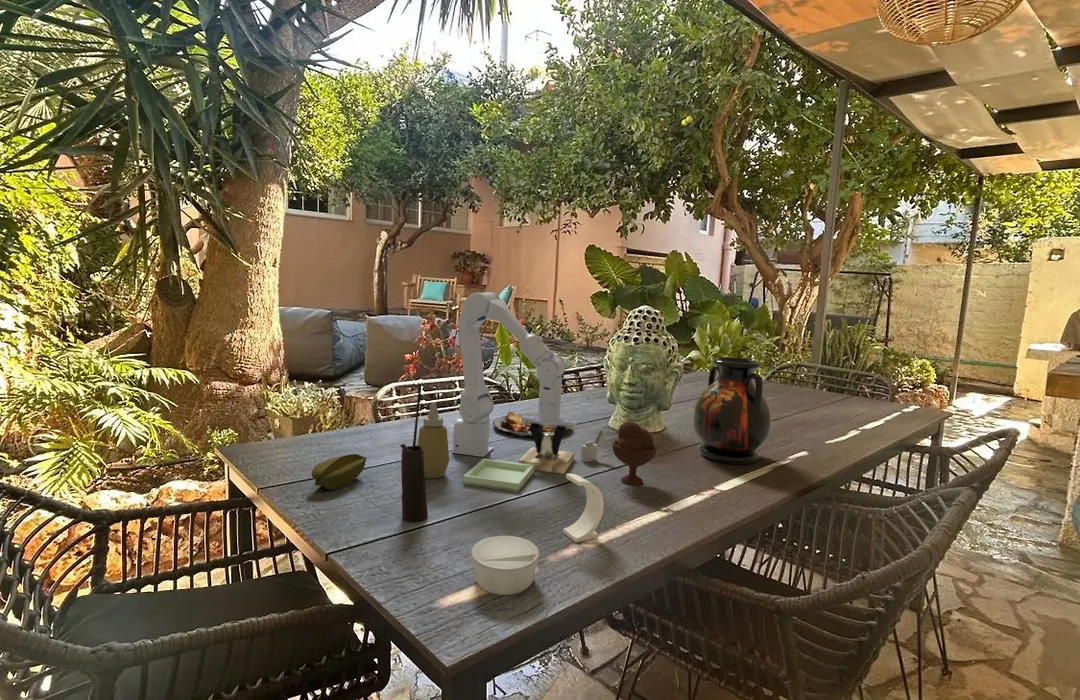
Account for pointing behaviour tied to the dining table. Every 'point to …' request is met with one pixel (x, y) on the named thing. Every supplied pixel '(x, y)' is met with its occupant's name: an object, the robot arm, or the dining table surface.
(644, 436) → the ice cream bowl
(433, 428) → the squeeze bottle
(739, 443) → the amphora vase
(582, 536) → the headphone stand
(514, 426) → the food plate
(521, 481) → the tray
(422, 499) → the butter churn
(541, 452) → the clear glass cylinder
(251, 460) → the dining table surface
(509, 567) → the ramekin
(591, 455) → the lighter
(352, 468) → the fruit
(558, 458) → the socket block
